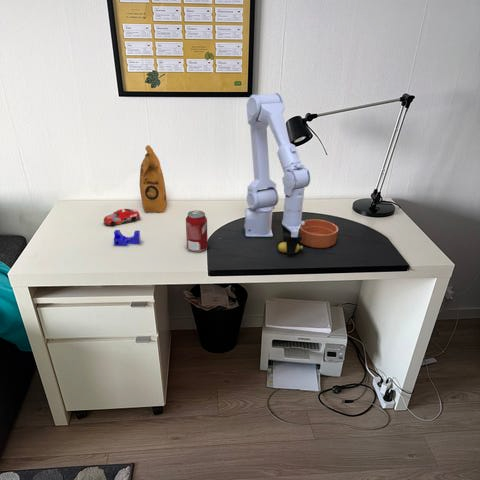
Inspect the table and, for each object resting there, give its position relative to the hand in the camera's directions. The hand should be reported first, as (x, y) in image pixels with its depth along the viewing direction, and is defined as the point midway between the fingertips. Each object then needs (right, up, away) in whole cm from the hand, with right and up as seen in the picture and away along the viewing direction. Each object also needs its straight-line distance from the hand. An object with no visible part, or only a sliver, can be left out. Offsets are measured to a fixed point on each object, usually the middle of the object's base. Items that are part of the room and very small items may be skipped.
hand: (288, 248), depth 143 cm
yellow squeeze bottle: (0, -1, +1) cm, 2 cm away
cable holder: (-53, +2, +2) cm, 53 cm away
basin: (+11, +4, +9) cm, 14 cm away
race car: (-59, +12, +16) cm, 62 cm away
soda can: (-30, 0, +1) cm, 30 cm away
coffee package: (-50, +20, +28) cm, 61 cm away
